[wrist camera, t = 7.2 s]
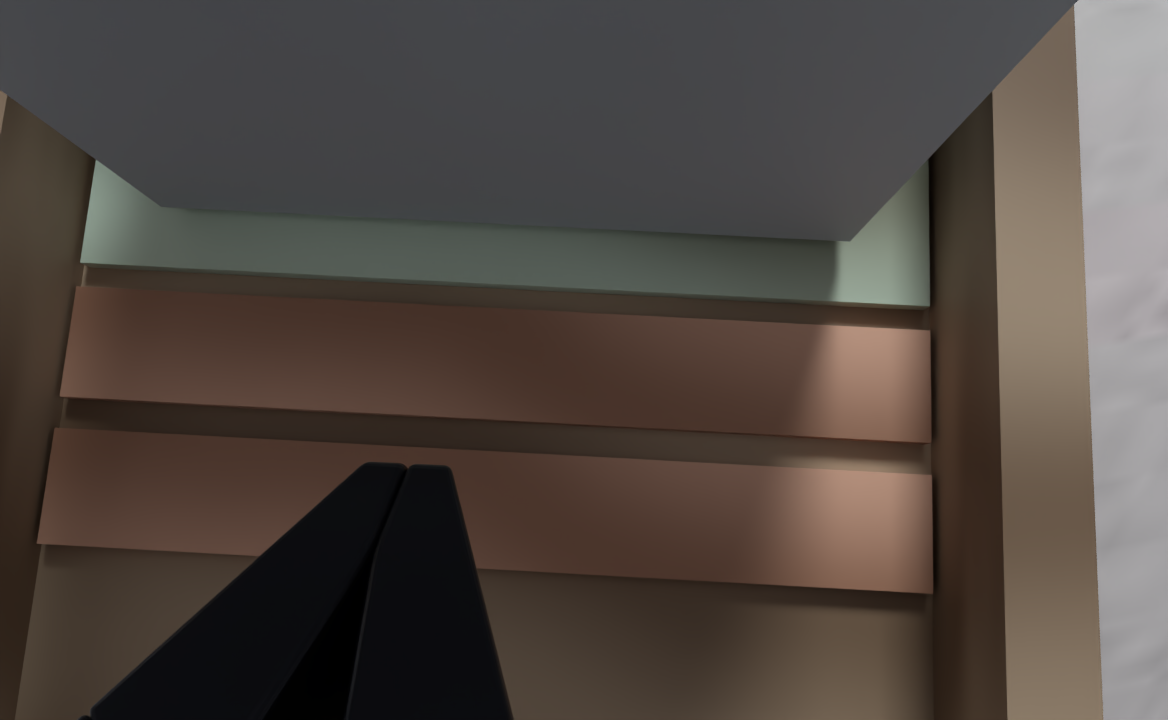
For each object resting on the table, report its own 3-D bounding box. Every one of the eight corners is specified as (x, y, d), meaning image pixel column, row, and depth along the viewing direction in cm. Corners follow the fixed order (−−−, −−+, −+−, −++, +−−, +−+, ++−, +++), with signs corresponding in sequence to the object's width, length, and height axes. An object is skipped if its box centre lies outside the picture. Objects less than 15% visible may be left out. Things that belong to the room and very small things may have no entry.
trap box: (1014, 1392, 13) (1281, 1942, 8) (-139, 1313, 13) (-584, 1798, 8) (980, -93, 17) (1143, -349, 12) (96, -133, 17) (-105, -399, 12)
